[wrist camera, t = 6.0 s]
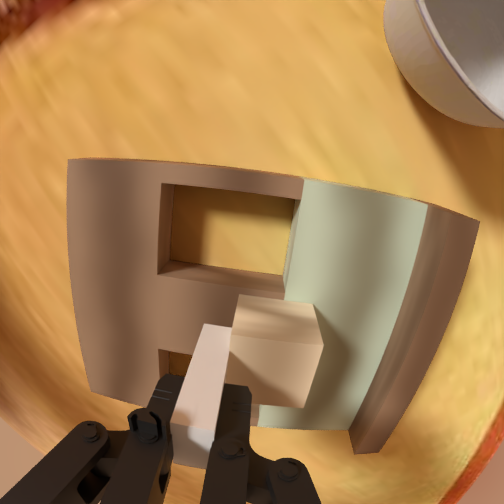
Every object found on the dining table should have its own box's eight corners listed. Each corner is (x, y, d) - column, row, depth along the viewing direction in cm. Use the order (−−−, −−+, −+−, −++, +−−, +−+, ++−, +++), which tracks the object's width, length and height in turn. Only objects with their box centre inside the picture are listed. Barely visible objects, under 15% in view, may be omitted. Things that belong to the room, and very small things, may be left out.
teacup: (511, 122, 15) (589, 124, 7) (399, 148, 16) (481, 150, 8) (440, -40, 11) (489, -83, 3) (315, -40, 12) (336, -115, 5)
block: (231, 353, 18) (223, 399, 14) (239, 294, 16) (230, 334, 13) (298, 361, 18) (303, 408, 14) (312, 303, 16) (323, 345, 13)
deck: (103, 372, 22) (77, 411, 17) (89, 157, 17) (41, 162, 12) (364, 408, 22) (378, 452, 17) (434, 204, 17) (479, 221, 12)
